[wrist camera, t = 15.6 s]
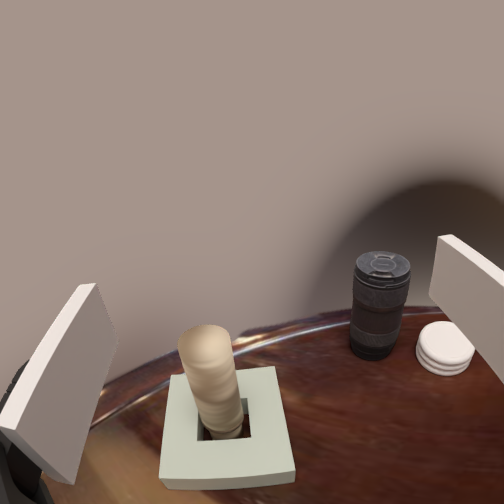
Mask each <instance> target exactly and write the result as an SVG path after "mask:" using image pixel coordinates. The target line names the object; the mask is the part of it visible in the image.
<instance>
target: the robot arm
mask: <svg viewBox="0 0 504 504" xmlns="http://www.w3.org/2000/svg"><path fill="white" fill-rule="evenodd" d="M428 295H429V297H430V298H431V299H432V300H433V301H434V302H435V303H436V304H437V305H438V306H439V307H440V308H441V310H442V311H443V312H444V313H445V314H446V315H447V316H448V317H449V318H450V320H451V321H452V322H453V323H454V324H455V325H456V326H457V327H458V329H459V330H460V331H461V332H462V333H463V334H464V335H465V337H466V338H467V339H468V340H469V341H470V342H471V344H472V345H473V346H474V347H475V348H476V350H477V351H478V352H479V353H480V354H481V356H482V357H483V358H484V359H485V361H486V362H487V363H488V364H489V366H490V367H491V368H492V369H493V371H494V372H495V373H496V374H497V376H498V377H499V378H500V380H501V381H502V382H503V384H504V272H503V271H502V270H501V269H499V268H498V267H497V266H496V265H494V264H493V263H492V262H490V261H489V260H487V259H486V258H485V257H483V256H482V255H481V254H479V253H478V252H476V251H475V250H474V249H472V248H471V247H469V246H468V245H466V244H465V243H464V242H462V241H461V240H459V239H458V238H456V237H455V236H453V235H445V236H438V241H437V249H436V255H435V262H434V268H433V274H432V279H431V284H430V289H429V294H428ZM118 343H119V339H118V337H117V334H116V332H115V330H114V327H113V325H112V322H111V320H110V318H109V315H108V313H107V310H106V308H105V305H104V303H103V300H102V297H101V295H100V292H99V289H98V287H97V284H96V283H92V284H84V285H79V286H78V288H77V289H76V290H75V292H74V293H73V295H72V296H71V298H70V299H69V300H68V302H67V303H66V305H65V306H64V308H63V309H62V311H61V312H60V313H59V315H58V316H57V318H56V320H55V321H54V322H53V324H52V325H51V327H50V329H49V330H48V332H47V333H46V335H45V336H44V338H43V340H42V341H41V343H40V344H39V346H38V348H37V349H36V351H35V352H34V354H33V356H32V357H31V359H30V360H28V361H27V362H26V363H25V364H24V365H23V366H22V367H21V368H20V369H19V370H18V371H17V373H16V375H15V376H14V378H13V380H12V384H10V385H9V387H8V389H7V390H6V391H7V393H5V394H4V396H3V398H2V400H1V402H0V504H54V502H53V500H52V497H51V495H50V493H49V491H48V488H47V486H46V484H45V483H44V481H43V480H42V479H41V478H40V476H41V473H42V471H43V472H44V473H46V474H47V475H48V476H49V477H50V478H52V479H53V480H55V481H59V482H63V483H67V484H71V485H74V483H75V478H76V474H77V471H78V467H79V463H80V459H81V456H82V452H83V448H84V445H85V441H86V438H87V434H88V431H89V428H90V425H91V421H92V418H93V415H94V412H95V409H96V406H97V402H98V399H99V396H100V393H101V391H102V388H103V385H104V382H105V379H106V376H107V373H108V370H109V368H110V365H111V362H112V359H113V357H114V354H115V351H116V349H117V346H118Z"/></svg>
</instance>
